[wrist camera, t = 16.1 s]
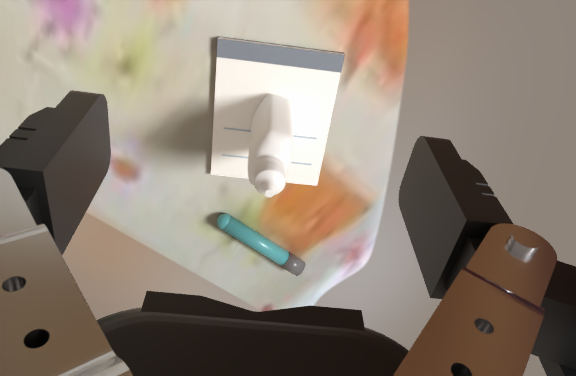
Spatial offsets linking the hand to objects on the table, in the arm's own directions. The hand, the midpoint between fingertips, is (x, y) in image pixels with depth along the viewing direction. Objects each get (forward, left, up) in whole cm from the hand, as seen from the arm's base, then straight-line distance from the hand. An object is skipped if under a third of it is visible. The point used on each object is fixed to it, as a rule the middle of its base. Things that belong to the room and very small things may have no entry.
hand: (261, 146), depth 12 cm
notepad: (+2, -14, -30) cm, 33 cm away
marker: (+2, -30, -30) cm, 42 cm away
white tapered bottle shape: (+1, -14, -30) cm, 33 cm away
